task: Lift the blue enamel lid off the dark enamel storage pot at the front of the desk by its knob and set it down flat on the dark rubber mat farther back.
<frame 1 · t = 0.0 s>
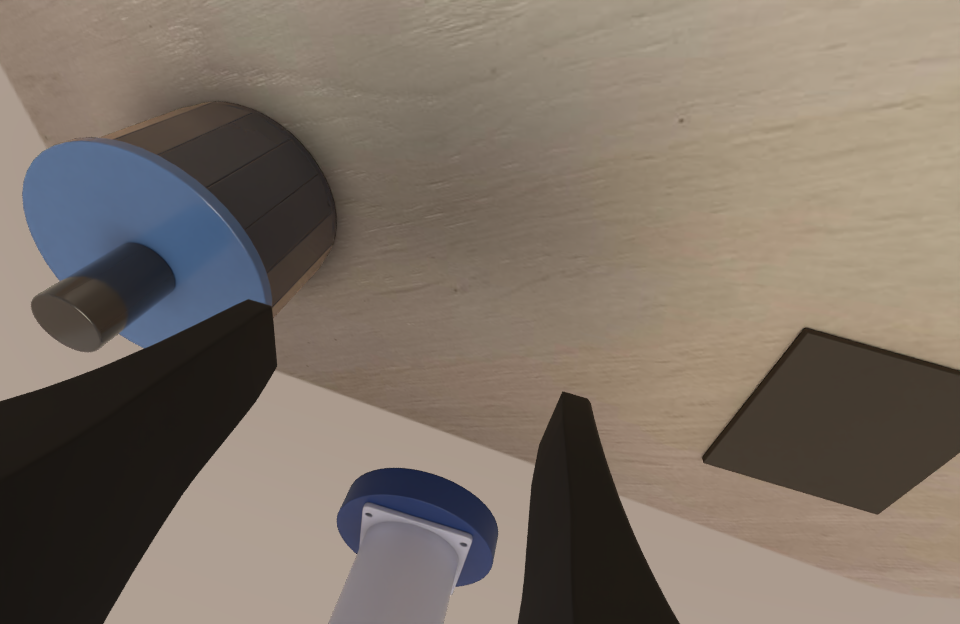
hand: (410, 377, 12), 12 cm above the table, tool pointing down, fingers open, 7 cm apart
mat: (843, 428, 25), on the table
pot: (249, 199, 24), on the table
lid: (156, 263, 19), point 6 cm above the table, touching pot
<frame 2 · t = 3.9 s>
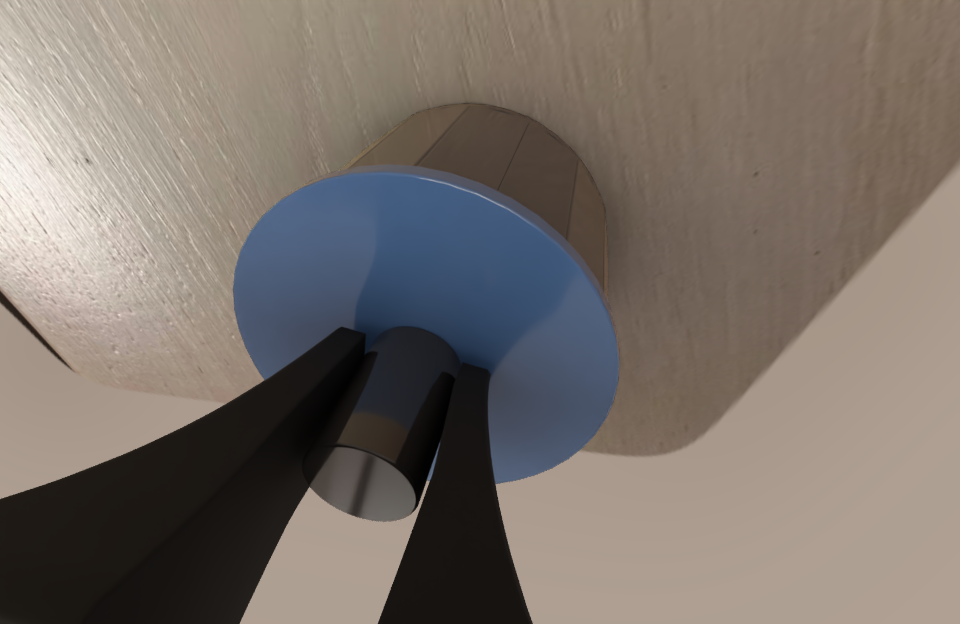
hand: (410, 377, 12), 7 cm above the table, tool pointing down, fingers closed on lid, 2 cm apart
pot: (475, 237, 18), on the table
lid: (422, 350, 13), point 6 cm above the table, touching gripper, pot
when the fingers open (2 cm above the table, at t = 9.7 s): lid stays where it is, resting on mat.
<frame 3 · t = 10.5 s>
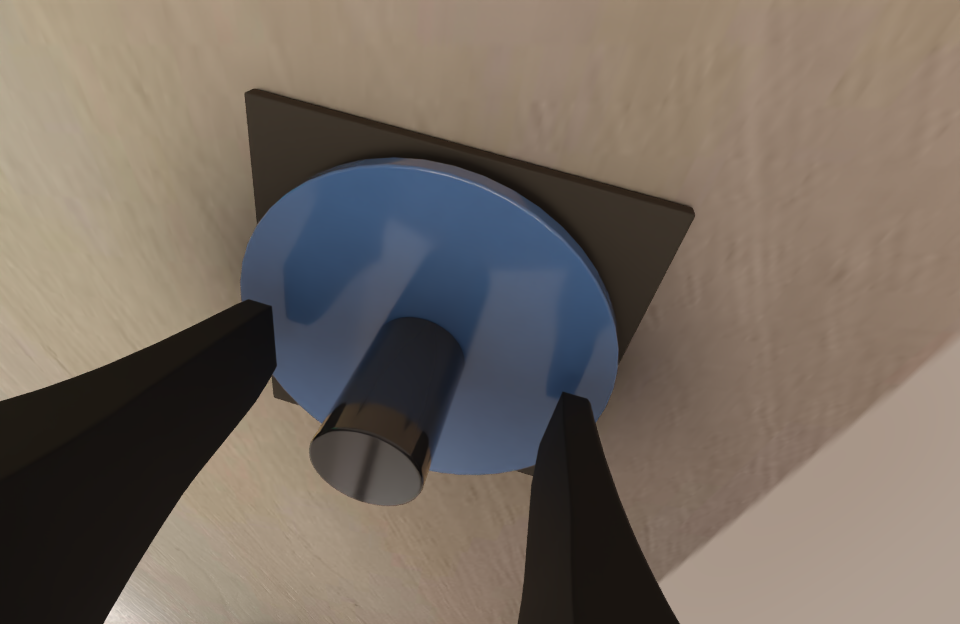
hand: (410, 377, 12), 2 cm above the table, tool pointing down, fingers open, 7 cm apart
mat: (437, 320, 14), on the table
lid: (425, 341, 13), point 1 cm above the table, touching mat
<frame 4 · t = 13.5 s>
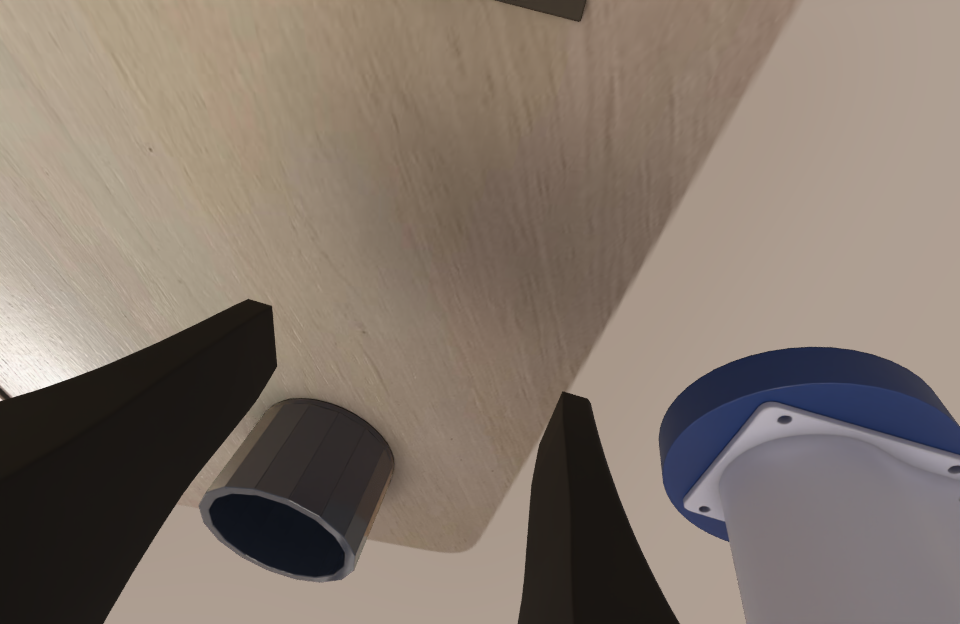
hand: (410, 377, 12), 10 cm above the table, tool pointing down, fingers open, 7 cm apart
pot: (328, 448, 33), on the table
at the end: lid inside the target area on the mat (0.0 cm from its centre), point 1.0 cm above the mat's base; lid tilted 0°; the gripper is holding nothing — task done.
